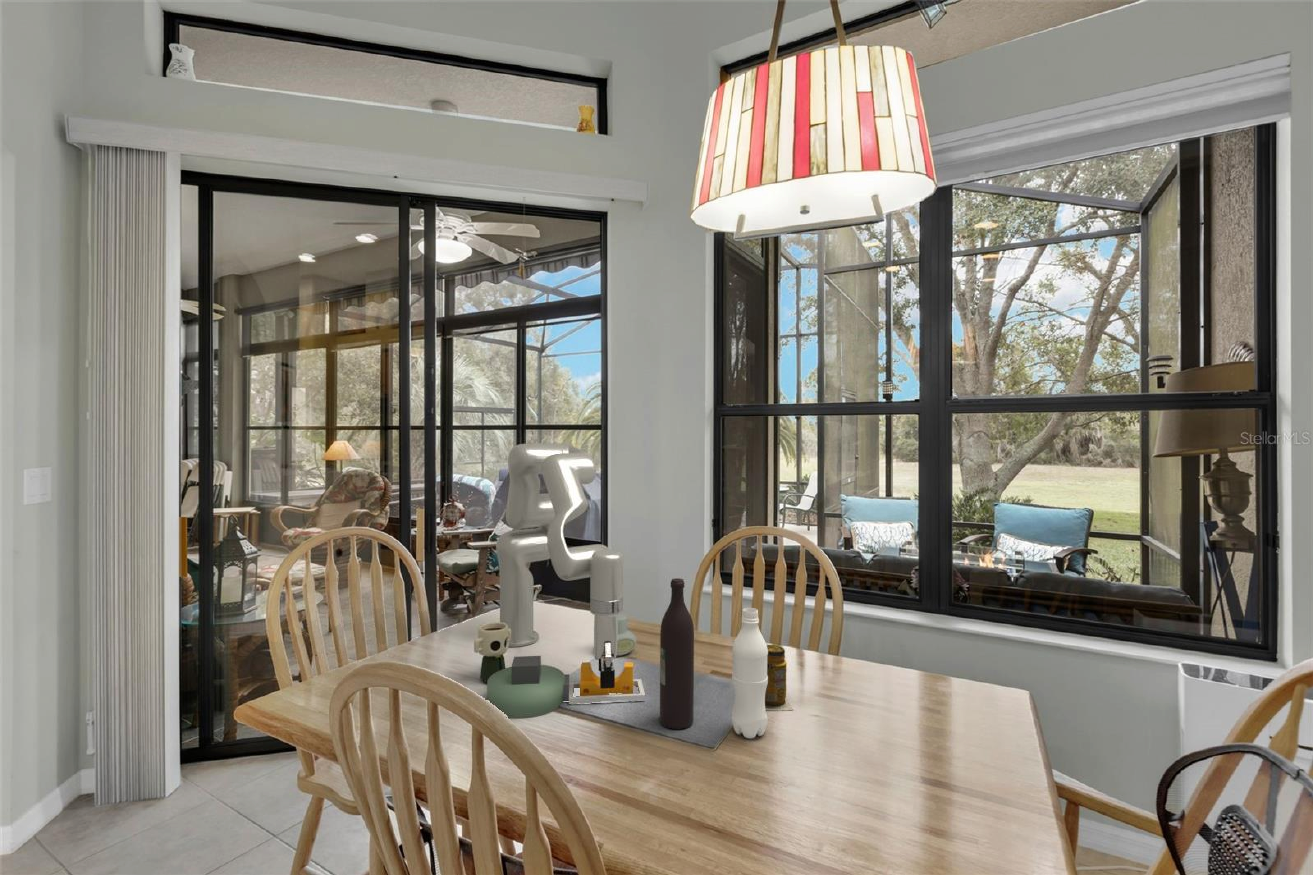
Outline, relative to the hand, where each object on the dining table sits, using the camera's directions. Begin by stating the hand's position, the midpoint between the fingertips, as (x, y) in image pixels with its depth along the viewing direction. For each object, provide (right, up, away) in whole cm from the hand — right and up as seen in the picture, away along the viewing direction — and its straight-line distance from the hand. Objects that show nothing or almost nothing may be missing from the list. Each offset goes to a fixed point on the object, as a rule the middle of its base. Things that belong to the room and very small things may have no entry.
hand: (606, 679), depth 144 cm
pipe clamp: (0, -4, 0) cm, 4 cm away
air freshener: (+1, -4, +27) cm, 28 cm away
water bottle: (+30, -4, -17) cm, 35 cm away
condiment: (+38, -4, -3) cm, 38 cm away
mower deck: (-9, -4, -2) cm, 10 cm away
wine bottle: (+16, -4, -13) cm, 21 cm away
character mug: (-28, -4, +9) cm, 30 cm away
